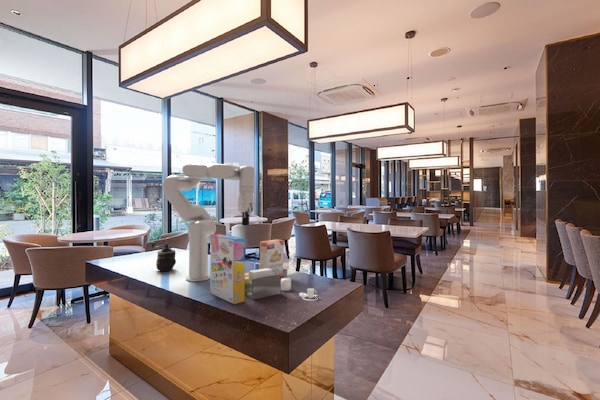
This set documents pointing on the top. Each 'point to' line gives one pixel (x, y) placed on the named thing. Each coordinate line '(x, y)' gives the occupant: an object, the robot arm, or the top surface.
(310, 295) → the teacup and saucer
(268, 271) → the carton
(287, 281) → the white rounded block
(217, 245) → the game box
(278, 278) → the stand
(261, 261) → the cracker box
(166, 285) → the top surface
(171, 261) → the coffee grinder
